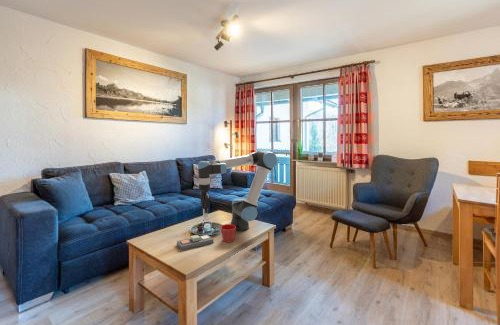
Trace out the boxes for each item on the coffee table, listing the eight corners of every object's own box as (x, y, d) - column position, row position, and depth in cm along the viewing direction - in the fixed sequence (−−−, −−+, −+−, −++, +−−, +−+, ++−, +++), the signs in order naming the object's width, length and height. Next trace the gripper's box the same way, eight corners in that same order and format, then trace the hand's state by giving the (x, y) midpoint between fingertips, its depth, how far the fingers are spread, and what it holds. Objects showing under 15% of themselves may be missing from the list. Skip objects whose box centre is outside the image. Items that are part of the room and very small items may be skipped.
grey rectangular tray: (207, 237, 184) (207, 234, 183) (213, 242, 175) (213, 239, 175) (176, 244, 172) (176, 241, 171) (181, 250, 163) (181, 246, 163)
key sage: (197, 237, 176) (197, 234, 176) (199, 240, 172) (199, 237, 172) (190, 239, 174) (190, 236, 174) (193, 241, 170) (193, 238, 170)
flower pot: (221, 243, 174) (221, 229, 173) (220, 237, 185) (220, 224, 183) (236, 242, 176) (236, 228, 175) (234, 236, 187) (234, 223, 186)
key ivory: (206, 238, 180) (206, 235, 180) (209, 240, 176) (209, 237, 176) (200, 239, 178) (200, 236, 178) (203, 242, 174) (203, 239, 174)
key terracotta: (187, 242, 173) (187, 239, 173) (189, 245, 169) (189, 242, 169) (180, 244, 170) (180, 241, 170) (182, 246, 166) (182, 243, 166)
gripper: (195, 182, 178) (196, 215, 181) (203, 186, 167) (204, 220, 170) (205, 181, 182) (206, 213, 185) (213, 184, 171) (214, 218, 174)
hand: (205, 217), depth 177 cm, fingers closed
